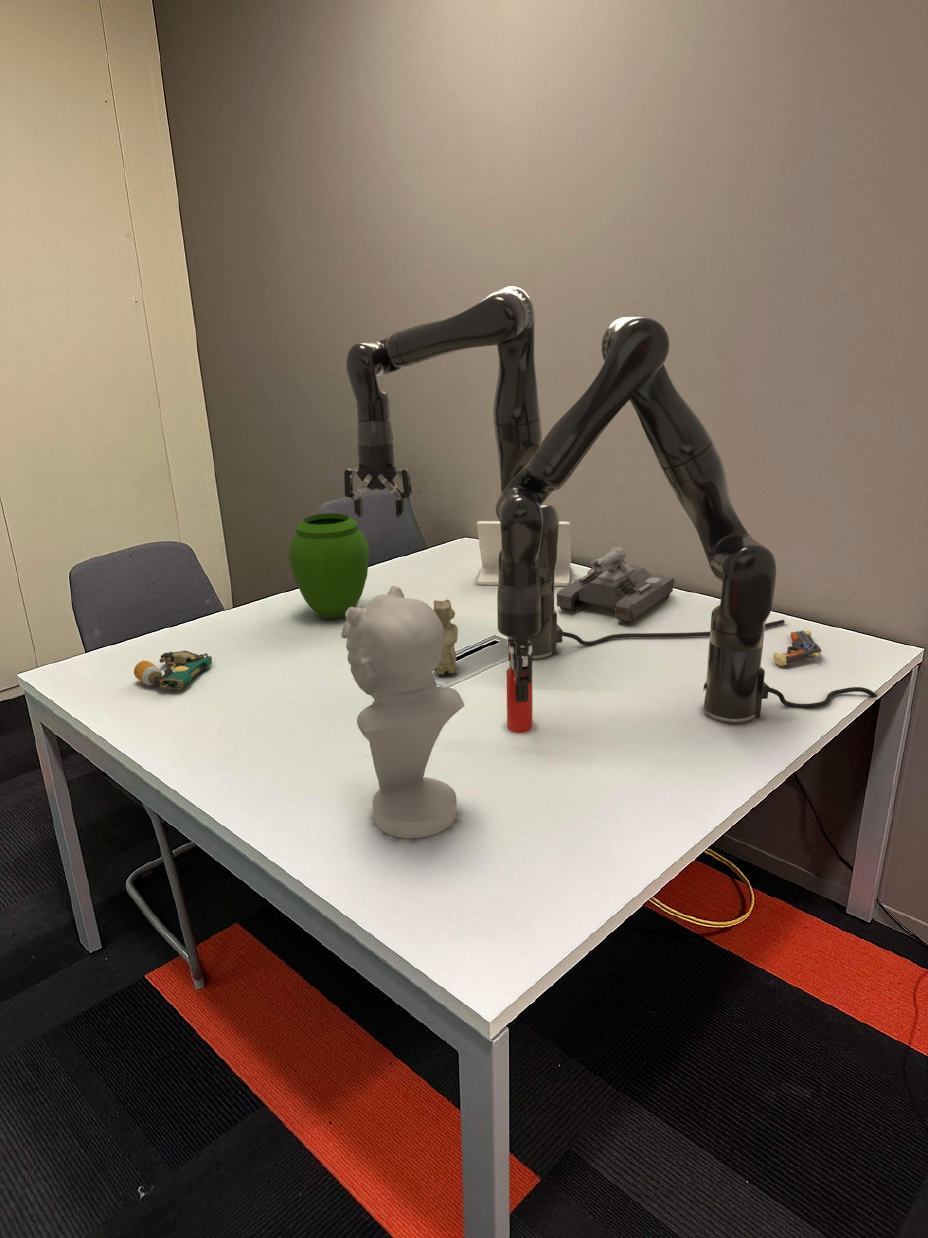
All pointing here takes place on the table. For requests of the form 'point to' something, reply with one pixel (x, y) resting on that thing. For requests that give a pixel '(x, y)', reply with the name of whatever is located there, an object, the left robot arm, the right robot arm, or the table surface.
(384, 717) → the bust sculpture
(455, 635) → the sculpture
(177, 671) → the spray gun
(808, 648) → the toy gun
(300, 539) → the vase
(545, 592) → the left robot arm
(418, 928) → the table surface
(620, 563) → the toy
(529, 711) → the red cylinder
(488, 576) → the tablet stand
